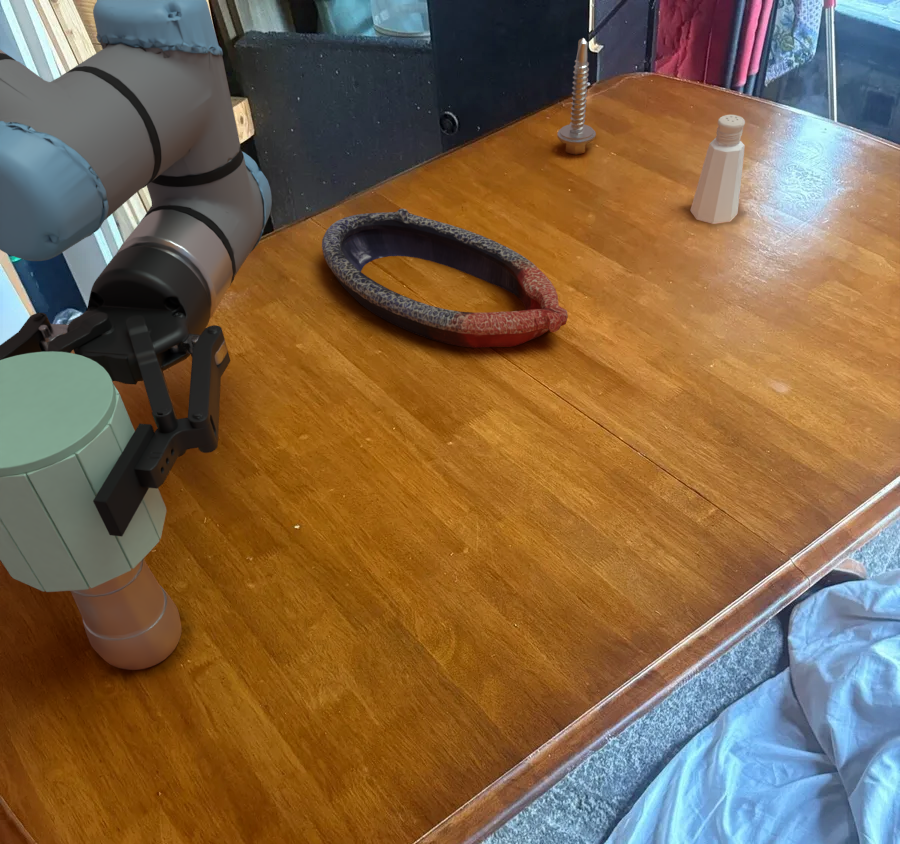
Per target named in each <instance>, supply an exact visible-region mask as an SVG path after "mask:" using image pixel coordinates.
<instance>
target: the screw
mask: <svg viewBox="0 0 900 844" xmlns="http://www.w3.org/2000/svg"><path fill="white" fill-rule="evenodd" d="M577 41H578V42H577V54H576V59H575V60H574V63H575V65H574V66H573V68H574V70H573V71H572V73H573V74H574V75H573V76H572V79H573V81H572V84H573V86H572V87H571V89H572V90H573V91H572V92H571V94H572V97H571V100H572V102H570V104H571V107H570V109H571V111H570V115H571V117H569V118H570V120H571V121H570V122H569V124H566V125H564V126H562V127H561V128H560V129H559V130H558V131H557V136H556V137H557V139H558V140H559V141H560V142H562V143H564V144H565V153H566V154H569V155H573V156H577V155H581V154H584V153H586V145H587V144H589V143H591V142H593V141H595V139H596V137H597V133H596V131H595V129H593V127H592V126H590V125H587V124H585V122H586V120H585V119H586V111H587V110H586V108H587V97H588V94H587V92H588V86H589V85H588V82H589V78H588V77H589V75H590V74H589V71H590V68H589V65H590V62H588V46H589V44H588V43H589V42H588V41H587V40H586V38H584V37H582V38H580V39H579V40H577Z"/></svg>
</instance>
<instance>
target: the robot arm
mask: <svg viewBox="0 0 900 844" xmlns="http://www.w3.org/2000/svg"><path fill="white" fill-rule="evenodd" d="M92 15H93V19H94V24H95V29H96V40H97V42H98V43H99V44H100V46H101V50H99V51H98V52H96V53H94V54H93V55H91V56H90V57H88V58H86V59H85V60H83V61H82V62H80V63H79V64H77V65H76V66H75V67H72V68H71V69H70V70H67V71H66V72H65V73H63V74H62V75H61V76H58V77H56V78H54V79H53V80H51V81H48V80H45V79H43V78H42V76H41V77H40V76H39V75H38V74H36V73H35V72H33V71H32V70H31V69H30V68H28V67H27V66H25V65H24V64H23V63H21V62H20V61H18V60H16V59H14V58H13V57H12V56H11V55H9V54H8V53H6V52H4V51H3V50H2V49H0V251H1V252H3V253H5V254H7V255H9V256H12V257H15V258H18V259H20V260H25V261H29V262H42V261H48V260H51V259H53V258H56V257H57V256H60V255H61V254H63V253H64V252H65V251H67V250H68V249H70V248H71V247H73V246H75V245H76V244H78V243H80V242H82V241H83V240H85V239H86V238H88V237H91V236H92V235H93V234H94V233H96V232H97V231H99V230H100V229H101V228H102V225H103V223H104V222H105V221H106V220H108V218H109V217H110V216H112V215H113V214H114V213H115V212H116V211H117V210H118V209H120V208H121V207H122V206H123V205H124V204H125V203H127V202H128V201H129V200H130V199H131V198H132V197H134V195H136V194H137V193H138V192H139V191H140V190H142V189H144V188H147V191H148V194H149V195H148V196H149V197H150V201H151V206H150V207H149V208H148V211H147V212H146V213H145V215H144V216H143V217H142V219H141V220H140V221H139V223H137V226H136V227H135V228H134V229H133V231H132V232H131V233H130V234H129V236H127V238H125V241H124V242H123V243H122V244H121V246H120V247H119V249H118V250H117V252H116V253H115V255H114V256H113V257H112V258H111V259H110V261H109V262H108V263H107V264H106V266H105V267H104V268H103V270H102V271H101V273H100V274H99V275H98V276H97V278H96V279H95V280H94V282H93V284H92V287H91V290H90V293H89V298H88V303H87V307H86V310H85V311H84V312H83V313H81V314H80V315H79V316H77V317H75V318H73V319H72V320H71V321H70V322H69V323H68V324H61V323H51V322H50V320H49V318H48V315H47V314H46V313H44V312H35V313H33V314H31V315H30V316H29V317H28V318H27V320H26V321H25V322H24V324H23V325H22V326H21V328H20V329H19V330H18V331H17V332H16V333H14V334H13V335H12V336H11V337H9V338H8V339H6V340H5V341H4V342H2V343H1V344H0V360H3V359H6V358H9V357H13V356H17V355H22V354H28V353H35V352H52V351H54V352H67V353H72V352H74V353H73V354H77V355H81V356H84V357H87V358H89V359H91V360H93V361H95V362H97V363H98V364H99V365H101V366H102V367H103V368H104V369H105V370H106V371H107V372H108V374H109V376H110V377H111V379H112V382H117V383H122V384H124V385H133V386H134V385H135V386H136V385H137V384H138V383H139V382H143V384H144V388H145V391H146V395H147V398H148V402H149V405H150V409H151V415H152V417H153V419H154V423H155V425H156V429H155V430H154V427H153V425H152V424H150V423H139V424H138V425H137V427H136V428H135V429H134V430H135V432H134V434H133V435H132V437H131V439H130V440H129V442H128V444H127V445H126V447H125V449H124V450H123V452H122V454H121V455H120V457H119V459H118V460H117V462H116V464H115V465H114V467H113V469H112V470H111V472H110V474H109V475H108V477H107V479H106V480H105V482H104V483H103V485H102V487H101V488H100V490H99V492H98V493H97V495H96V497H95V498H94V500H93V502H94V504H95V506H96V508H97V510H98V512H99V514H100V516H101V518H102V520H103V522H104V524H105V526H106V529H107V531H108V533H109V535H113V536H123V534H124V532H125V530H126V529H127V527H128V525H129V523H130V521H131V520H132V518H133V516H134V514H135V512H136V511H137V509H138V507H139V505H140V503H141V502H142V500H143V498H144V496H145V494H146V492H147V491H148V489H149V488H156V489H157V488H158V489H159V488H160V487H161V486H162V485H164V483H165V481H166V479H167V478H168V476H169V474H170V472H171V470H172V469H173V467H174V464H175V463H176V461H177V459H178V458H179V457H181V456H183V455H185V454H186V452H187V451H188V450H193V449H198V451H199V452H200V453H204V454H209V453H212V452H215V451H216V450H217V448H218V446H219V430H220V409H221V408H220V407H221V379H222V376H223V374H224V373H225V371H226V370H227V367H229V365H230V363H231V357H230V354H229V350H228V345H227V342H226V339H225V335H224V331H223V329H222V327H221V326H220V325H216V324H215V325H213V324H212V325H209V323H210V320H211V318H213V316H214V315H215V312H216V311H217V309H218V307H219V305H220V304H221V302H222V300H223V298H224V297H225V295H226V293H227V292H228V290H229V289H230V287H231V286H232V283H233V282H234V280H235V277H236V275H237V274H238V272H239V271H240V269H241V268H242V266H243V264H244V263H245V262H246V260H247V258H248V256H249V255H250V254H252V252H253V251H254V250H255V249H256V247H257V246H258V244H259V243H260V241H261V239H262V237H263V233H264V229H265V227H266V225H267V223H268V220H269V218H270V215H271V211H272V206H273V198H272V189H271V187H270V183H269V180H268V178H266V177H267V176H265V174H264V173H263V171H262V170H261V168H260V167H259V166H258V164H257V162H256V161H255V160H254V159H253V158H252V157H251V156H250V155H248V154H247V153H246V152H245V151H242V146H241V142H240V136H239V132H238V127H237V122H236V117H235V111H234V107H233V102H232V98H231V92H230V88H229V83H228V78H227V73H226V68H225V63H224V59H223V55H224V52H223V48H222V47H221V46H220V45H219V42H218V38H217V33H216V29H215V26H214V23H213V19H212V15H211V11H210V8H209V4H208V1H207V0H96V2H95V4H94V6H93V10H92ZM190 356H191V357H190ZM189 357H190V358H191V369H190V383H189V395H188V396H189V397H188V406H187V407H188V409H187V411H188V412H187V417H181V418H178V416H177V412H176V410H175V407H174V404H173V401H172V397H171V394H170V390H169V387H168V383H167V381H166V377H165V374H164V371H166V370H168V369H170V368H172V367H173V366H175V365H177V364H179V363H181V362H183V361H185V360H187V358H189Z"/></svg>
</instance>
